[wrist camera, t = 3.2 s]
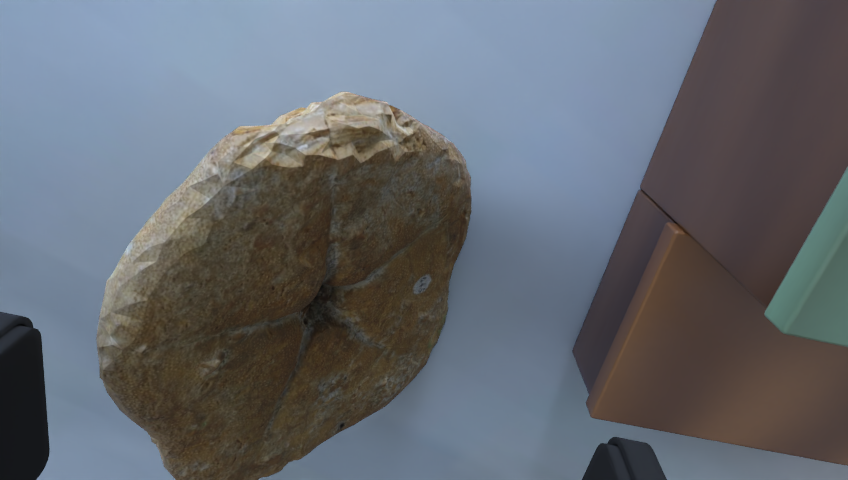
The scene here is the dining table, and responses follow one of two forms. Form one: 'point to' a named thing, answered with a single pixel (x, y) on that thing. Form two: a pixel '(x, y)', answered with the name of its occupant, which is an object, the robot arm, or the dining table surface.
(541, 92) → the dining table surface
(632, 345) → the step shelf
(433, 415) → the dining table surface
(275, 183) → the fossil
